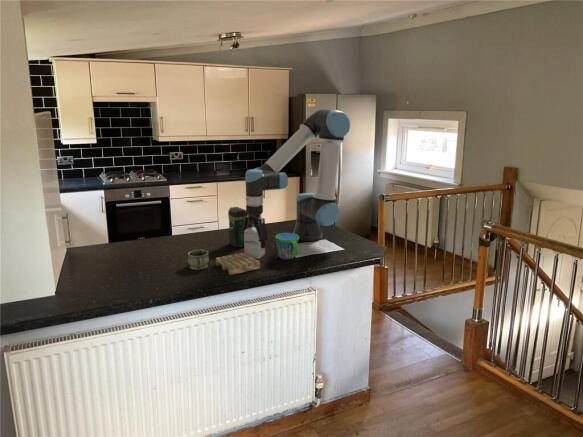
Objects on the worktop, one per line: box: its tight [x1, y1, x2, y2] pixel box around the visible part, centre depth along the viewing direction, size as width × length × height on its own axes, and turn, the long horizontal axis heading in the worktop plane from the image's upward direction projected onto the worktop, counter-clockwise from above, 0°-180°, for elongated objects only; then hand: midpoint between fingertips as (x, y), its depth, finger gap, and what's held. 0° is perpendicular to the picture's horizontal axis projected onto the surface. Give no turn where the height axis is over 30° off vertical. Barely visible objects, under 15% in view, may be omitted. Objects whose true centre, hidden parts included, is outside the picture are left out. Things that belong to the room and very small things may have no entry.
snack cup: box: [274, 232, 300, 261], centre depth 209 cm, size 16×10×10 cm
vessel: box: [187, 249, 210, 271], centre depth 198 cm, size 12×9×6 cm
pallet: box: [215, 252, 261, 276], centre depth 198 cm, size 14×14×3 cm
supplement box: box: [243, 226, 264, 260], centre depth 211 cm, size 7×7×13 cm
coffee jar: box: [227, 206, 246, 248], centre depth 225 cm, size 10×8×19 cm
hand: (254, 250), depth 212 cm, fingers open, 12 cm apart
